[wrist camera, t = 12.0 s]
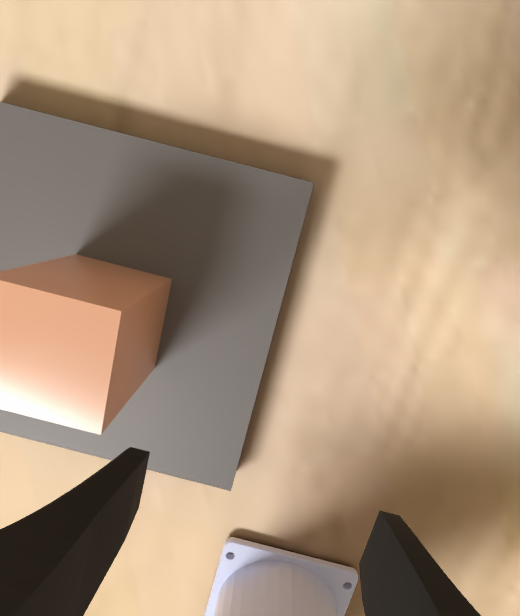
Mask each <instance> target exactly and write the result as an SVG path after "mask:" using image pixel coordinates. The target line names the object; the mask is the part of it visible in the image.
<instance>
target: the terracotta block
mask: <svg viewBox="0 0 520 616" xmlns="http://www.w3.org/2000/svg"><path fill="white" fill-rule="evenodd" d="M171 282H172V279H171V278H167V277H163V276H159V275H155V274H151V273H147V272H143V271H140V270H136V269H132V268H128V267H124V266H120V265H116V264H112V263H108V262H104V261H101V260H97V259H93V258H89V257H85V256H81V255H77V254H74V255H70V256H66V257H61V258H57V259H53V260H48V261H44V262H39V263H35V264H31V265H26V266H22V267H17V268H13V269H9V270H4V271H0V409H2V410H6V411H10V412H14V413H18V414H21V415H25V416H29V417H33V418H37V419H41V420H45V421H49V422H53V423H57V424H61V425H64V426H68V427H72V428H76V429H80V430H84V431H88V432H92V433H96V434H100V435H101V434H102V433H103V432H104V430H105V429H106V428H107V427H108V425H109V424H110V423H111V422H112V420H113V419H114V418H115V417H116V416H117V414H118V413H119V412H120V411H121V409H122V408H123V407H124V406H125V404H126V403H127V402H128V401H129V399H130V398H131V397H132V396H133V395H134V393H135V392H136V391H137V390H138V388H139V387H140V386H141V385H142V383H143V382H144V381H145V380H146V378H147V377H148V376H149V375H150V374H151V372H152V371H153V370H154V369H155V364H156V359H157V354H158V349H159V344H160V338H161V333H162V328H163V323H164V318H165V313H166V308H167V303H168V298H169V292H170V287H171Z"/></svg>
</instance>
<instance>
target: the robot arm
mask: <svg viewBox="0 0 520 616" xmlns="http://www.w3.org/2000/svg"><path fill="white" fill-rule="evenodd" d="M149 455H150V452H149V451H145V450H141V449H137V448H133V447H129V448H128V449H126V450H125V451H123V452H122V453H121V454H120V455H118V456H117V457H116V458H115V459H113V460H112V461H111V462H110V463H108V464H107V465H106V466H104V467H103V468H102V469H100V470H99V471H98V472H96V473H95V474H93V475H92V476H91V477H89V478H88V479H86V480H85V481H84V482H82V483H81V484H79V485H78V486H76V487H75V488H73V489H72V490H70V491H69V492H67V493H65V494H64V495H62V496H61V497H59V498H58V499H56V500H54V501H53V502H51V503H49V504H48V505H46V506H44V507H43V508H41V509H39V510H37V511H36V512H34V513H32V514H30V515H28V516H26V517H24V518H23V519H21V520H19V521H17V522H15V523H13V524H11V525H9V526H7V527H5V528H2V529H0V616H83V615H84V613H85V611H86V610H87V608H88V606H89V604H90V602H91V601H92V599H93V597H94V595H95V593H96V592H97V590H98V588H99V586H100V584H101V583H102V581H103V579H104V577H105V575H106V573H107V572H108V570H109V568H110V566H111V564H112V563H113V561H114V559H115V557H116V555H117V554H118V552H119V550H120V548H121V546H122V544H123V543H124V541H125V538H126V536H127V534H128V532H129V529H130V527H131V525H132V522H133V520H134V517H135V515H136V512H137V510H138V508H139V503H140V498H141V494H142V489H143V484H144V479H145V474H146V469H147V464H148V459H149ZM228 552H232V553H233V554H229V553H228ZM359 565H360V578H361V590H362V599H363V605H364V611H365V616H481V615H480V614H479V613H478V612H477V611H476V610H475V609H474V607H473V606H472V605H471V604H470V603H469V602H468V601H467V599H466V598H465V597H464V596H463V595H462V594H461V592H460V591H459V590H458V589H457V588H456V586H455V585H454V584H453V583H452V582H451V580H450V579H449V578H448V577H447V575H446V574H445V573H444V572H443V570H442V569H441V568H440V567H439V565H438V564H437V563H436V562H435V560H434V559H433V558H432V556H431V555H430V554H429V553H428V551H427V550H426V549H425V547H424V546H423V545H422V544H421V542H420V541H419V540H418V538H417V537H416V536H415V534H414V533H413V532H412V531H411V529H410V528H409V527H408V526H407V524H406V523H405V522H404V521H403V519H402V518H401V517H400V516H398V515H394V514H391V513H387V512H383V511H380V512H379V514H378V517H377V520H376V522H375V525H374V527H373V530H372V532H371V535H370V538H369V540H368V543H367V545H366V548H365V550H364V553H363V556H362V558H361V561H360V563H359ZM346 582H349V583H346ZM357 582H358V573H357V571H356V570H355V569H354V568H352V567H348V566H344V565H340V564H336V563H333V562H329V561H325V560H321V559H317V558H313V557H309V556H305V555H301V554H297V553H294V552H290V551H286V550H282V549H278V548H274V547H270V546H266V545H262V544H258V543H255V542H251V541H247V540H243V539H239V538H235V537H230V538H228V539H226V541H225V543H224V546H223V550H222V553H221V557H220V561H219V564H218V568H217V572H216V575H215V579H214V582H213V586H212V590H211V593H210V597H209V600H208V604H207V608H206V611H205V615H204V616H345V613H346V610H347V608H348V605H349V603H350V600H351V598H352V595H353V593H354V590H355V587H356V585H357Z"/></svg>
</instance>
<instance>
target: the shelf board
mask: <svg viewBox="0 0 520 616" xmlns="http://www.w3.org/2000/svg"><path fill="white" fill-rule="evenodd" d="M313 185H314V182H310V181H306V180H302V179H298V178H294V177H290V176H286V175H283V174H279V173H275V172H271V171H267V170H263V169H259V168H255V167H252V166H248V165H244V164H240V163H236V162H232V161H228V160H224V159H220V158H217V157H213V156H209V155H205V154H201V153H197V152H193V151H189V150H186V149H182V148H178V147H174V146H170V145H166V144H162V143H158V142H154V141H151V140H147V139H143V138H139V137H135V136H131V135H127V134H123V133H120V132H116V131H112V130H108V129H104V128H100V127H96V126H92V125H88V124H85V123H81V122H77V121H73V120H69V119H65V118H61V117H57V116H54V115H50V114H46V113H42V112H38V111H34V110H30V109H26V108H22V107H19V106H15V105H11V104H7V103H3V102H0V271H4V270H9V269H13V268H17V267H22V266H26V265H31V264H35V263H39V262H44V261H48V260H53V259H57V258H61V257H66V256H70V255H74V254H77V255H81V256H85V257H89V258H93V259H97V260H101V261H104V262H108V263H112V264H116V265H120V266H124V267H128V268H132V269H136V270H140V271H143V272H147V273H151V274H155V275H159V276H163V277H167V278H171V279H172V282H171V287H170V292H169V298H168V303H167V308H166V313H165V318H164V323H163V328H162V333H161V338H160V344H159V349H158V354H157V359H156V364H155V369H154V370H153V371H152V372H151V374H150V375H149V376H148V377H147V378H146V380H145V381H144V382H143V383H142V385H141V386H140V387H139V388H138V390H137V391H136V392H135V393H134V395H133V396H132V397H131V398H130V399H129V401H128V402H127V403H126V404H125V406H124V407H123V408H122V409H121V411H120V412H119V413H118V414H117V416H116V417H115V418H114V419H113V420H112V422H111V423H110V424H109V425H108V427H107V428H106V429H105V430H104V432H103V433H102V434H101V435H100V434H96V433H92V432H88V431H84V430H80V429H76V428H72V427H68V426H64V425H61V424H57V423H53V422H49V421H45V420H41V419H37V418H33V417H29V416H25V415H21V414H18V413H14V412H10V411H6V410H2V409H0V432H3V433H7V434H11V435H15V436H19V437H23V438H26V439H30V440H34V441H38V442H42V443H46V444H50V445H54V446H58V447H62V448H65V449H69V450H73V451H77V452H81V453H85V454H89V455H93V456H97V457H100V458H104V459H108V460H113V459H115V458H116V457H117V456H118V455H120V454H121V453H122V452H123V451H125V450H126V449H128V448H129V447H133V448H137V449H141V450H145V451H149V452H150V455H149V459H148V464H147V470H151V471H155V472H159V473H163V474H167V475H171V476H175V477H178V478H182V479H186V480H190V481H194V482H198V483H202V484H206V485H210V486H213V487H217V488H221V489H225V490H229V491H231V488H232V485H233V481H234V477H235V473H236V470H237V466H238V462H239V459H240V455H241V451H242V448H243V444H244V440H245V437H246V433H247V429H248V425H249V422H250V418H251V414H252V411H253V407H254V403H255V400H256V396H257V392H258V389H259V385H260V381H261V377H262V374H263V370H264V366H265V363H266V359H267V355H268V352H269V348H270V344H271V341H272V337H273V333H274V329H275V326H276V322H277V318H278V315H279V311H280V307H281V304H282V300H283V296H284V293H285V289H286V285H287V281H288V278H289V274H290V270H291V267H292V263H293V259H294V256H295V252H296V248H297V245H298V241H299V237H300V233H301V230H302V226H303V222H304V219H305V215H306V211H307V208H308V204H309V200H310V197H311V193H312V189H313Z"/></svg>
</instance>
